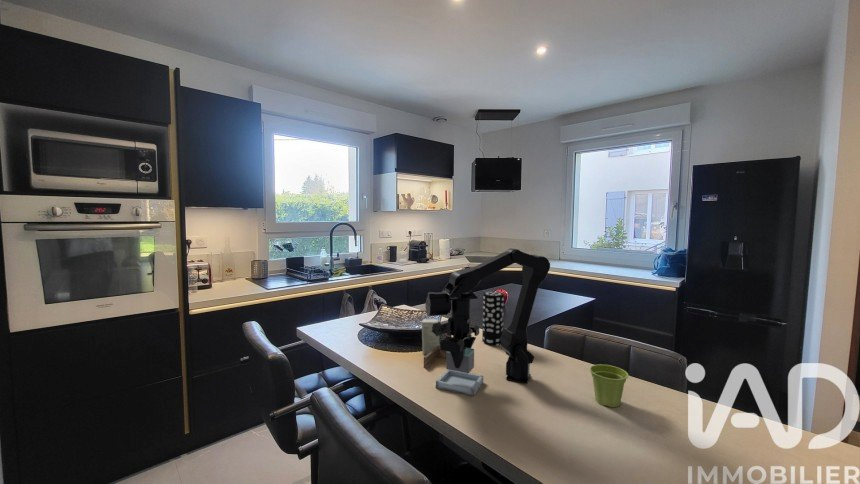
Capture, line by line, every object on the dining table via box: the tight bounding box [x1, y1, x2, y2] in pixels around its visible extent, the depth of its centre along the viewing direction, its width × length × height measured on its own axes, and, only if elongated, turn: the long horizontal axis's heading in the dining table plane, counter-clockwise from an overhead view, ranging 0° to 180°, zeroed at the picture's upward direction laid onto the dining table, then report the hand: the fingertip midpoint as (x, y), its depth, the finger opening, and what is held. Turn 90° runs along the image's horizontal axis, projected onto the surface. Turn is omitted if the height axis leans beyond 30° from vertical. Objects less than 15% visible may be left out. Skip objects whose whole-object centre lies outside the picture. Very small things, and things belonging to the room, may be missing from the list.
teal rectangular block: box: [445, 348, 475, 373], centre depth 105 cm, size 7×5×6 cm
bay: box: [423, 346, 446, 368], centre depth 121 cm, size 11×12×4 cm
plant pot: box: [589, 363, 629, 408], centre depth 96 cm, size 9×9×9 cm
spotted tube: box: [481, 291, 505, 347], centre depth 142 cm, size 8×8×20 cm
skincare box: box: [421, 318, 440, 355], centre depth 131 cm, size 6×4×12 cm
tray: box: [435, 369, 484, 397], centre depth 106 cm, size 12×10×2 cm
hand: (460, 364), depth 105 cm, fingers closed on teal rectangular block, 5 cm apart
